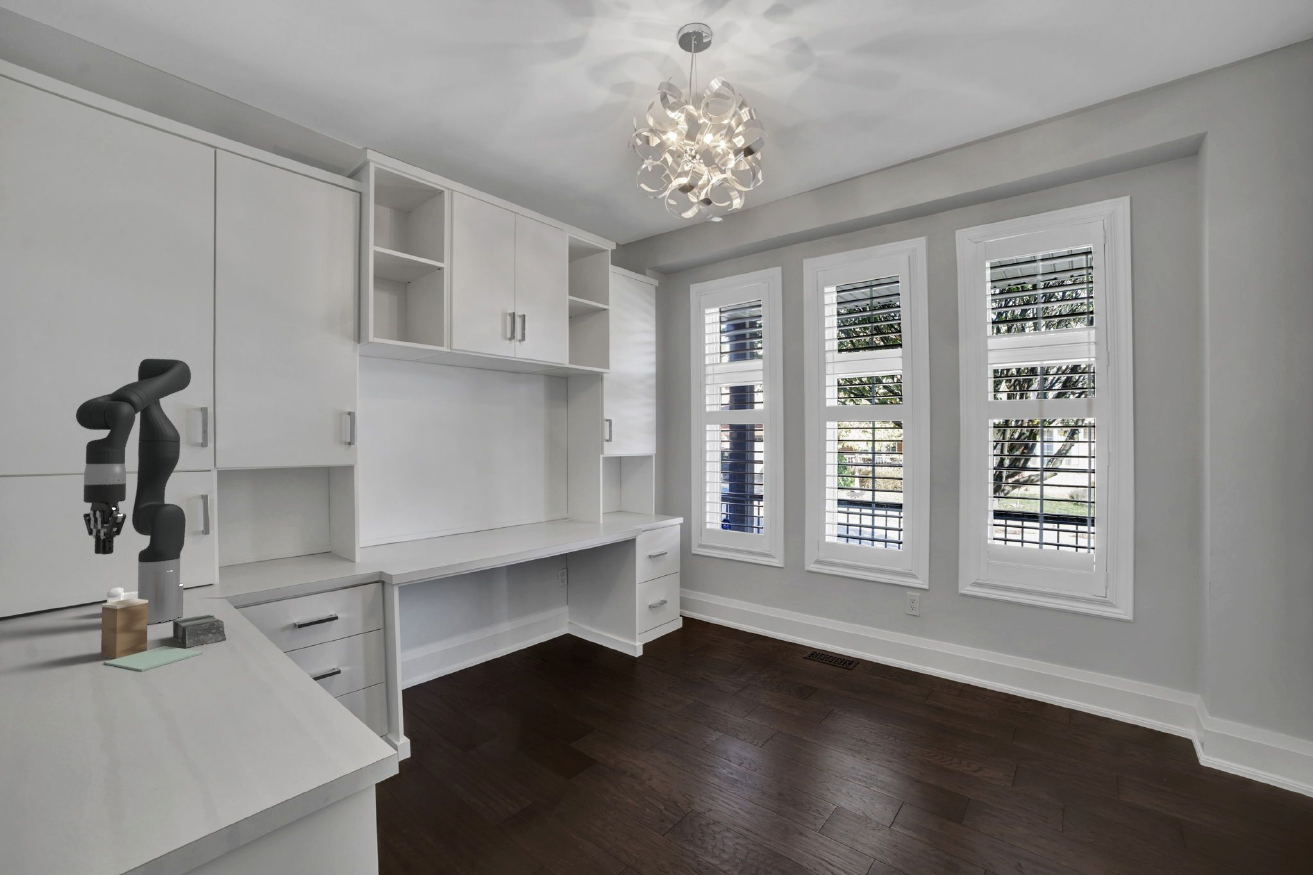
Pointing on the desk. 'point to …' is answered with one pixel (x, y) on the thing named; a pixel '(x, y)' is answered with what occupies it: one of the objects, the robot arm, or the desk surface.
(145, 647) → the walnut block
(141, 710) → the desk surface
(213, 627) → the stone block
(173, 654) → the sage mat
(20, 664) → the desk surface
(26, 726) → the desk surface
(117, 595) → the bone shaped toy
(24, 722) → the desk surface
